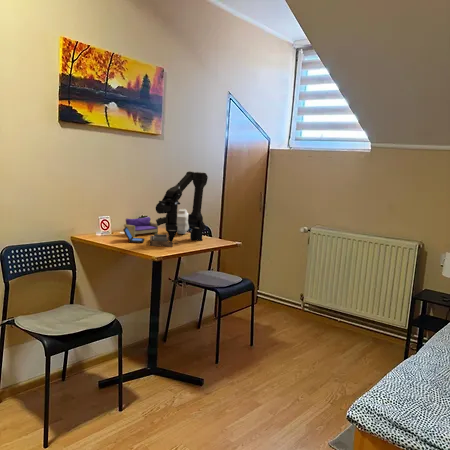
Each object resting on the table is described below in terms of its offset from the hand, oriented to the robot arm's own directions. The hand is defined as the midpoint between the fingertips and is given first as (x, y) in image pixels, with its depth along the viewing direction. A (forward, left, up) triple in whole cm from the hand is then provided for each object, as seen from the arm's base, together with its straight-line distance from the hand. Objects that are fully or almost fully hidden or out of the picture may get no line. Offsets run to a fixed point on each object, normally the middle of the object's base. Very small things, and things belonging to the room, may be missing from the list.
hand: (170, 240), depth 253 cm
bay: (+5, 0, -2) cm, 5 cm away
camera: (-7, -37, -2) cm, 38 cm away
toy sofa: (+17, -26, -2) cm, 31 cm away
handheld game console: (+20, -3, -2) cm, 20 cm away
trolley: (+6, 0, -2) cm, 6 cm away
